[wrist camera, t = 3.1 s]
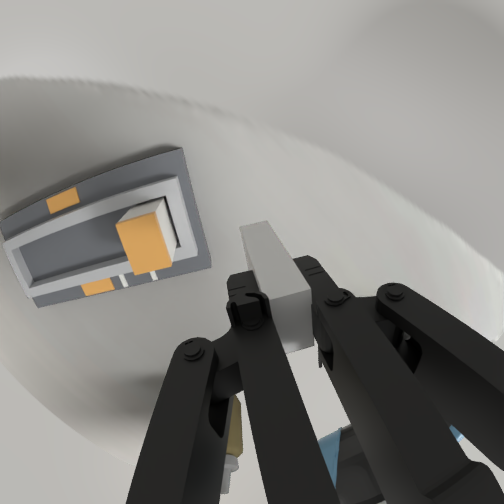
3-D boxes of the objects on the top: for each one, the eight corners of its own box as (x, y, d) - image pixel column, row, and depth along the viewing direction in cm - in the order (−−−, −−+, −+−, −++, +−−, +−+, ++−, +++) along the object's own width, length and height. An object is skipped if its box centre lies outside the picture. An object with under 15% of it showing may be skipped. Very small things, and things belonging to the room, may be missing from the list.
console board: (182, 147, 24) (178, 149, 21) (211, 258, 29) (212, 274, 26) (7, 217, 22) (-9, 227, 19) (43, 299, 28) (33, 314, 24)
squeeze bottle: (177, 392, 38) (179, 494, 22) (203, 366, 36) (212, 483, 20) (219, 406, 41) (232, 500, 25) (248, 383, 39) (270, 486, 23)
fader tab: (164, 196, 23) (153, 213, 18) (177, 239, 25) (171, 266, 20) (132, 205, 23) (115, 224, 18) (147, 247, 25) (134, 275, 20)
